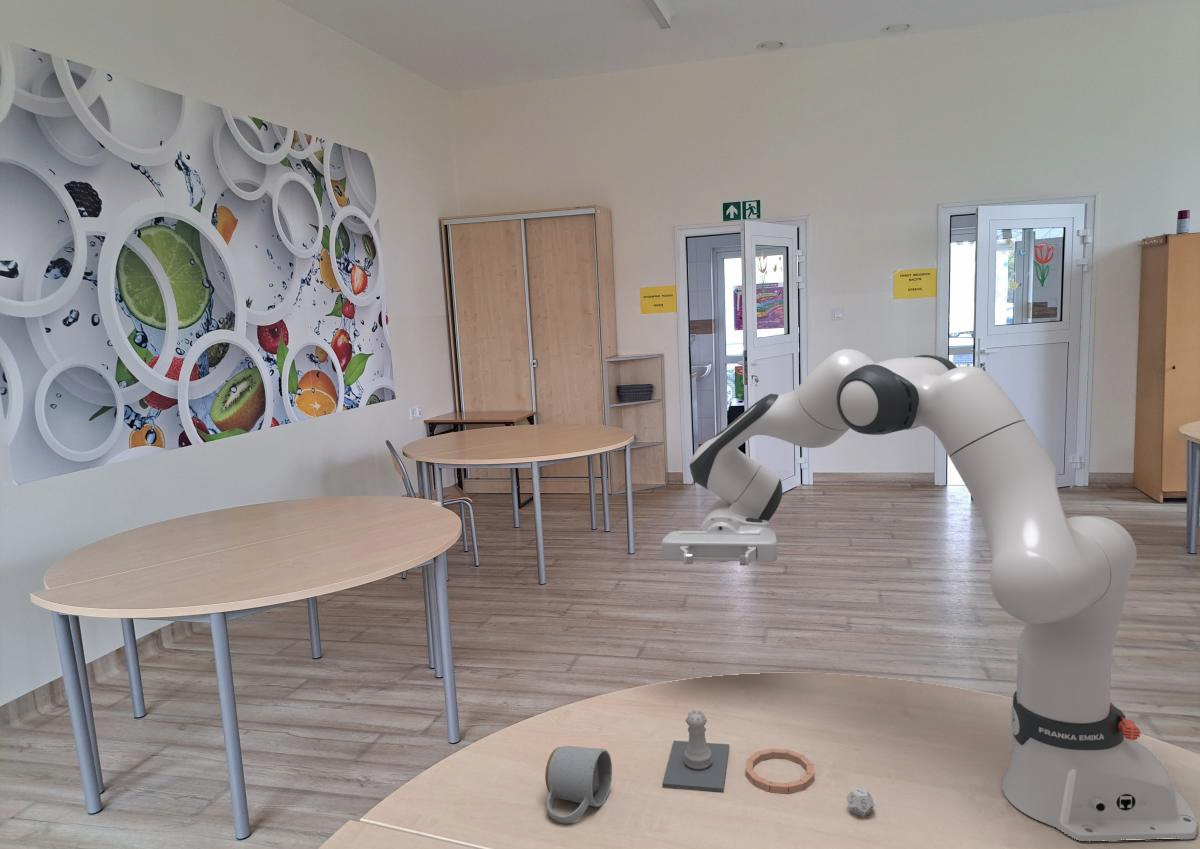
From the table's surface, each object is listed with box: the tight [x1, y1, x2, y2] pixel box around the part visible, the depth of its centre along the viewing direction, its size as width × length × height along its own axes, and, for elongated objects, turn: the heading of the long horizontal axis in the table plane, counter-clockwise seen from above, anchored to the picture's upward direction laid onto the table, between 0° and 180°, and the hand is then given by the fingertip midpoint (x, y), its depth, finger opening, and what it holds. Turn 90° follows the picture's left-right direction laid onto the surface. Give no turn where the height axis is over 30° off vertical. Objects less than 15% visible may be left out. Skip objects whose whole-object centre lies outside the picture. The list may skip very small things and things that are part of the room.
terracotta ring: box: [745, 748, 815, 794], centre depth 121 cm, size 10×10×1 cm
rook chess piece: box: [684, 710, 713, 770], centre depth 123 cm, size 4×4×8 cm
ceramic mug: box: [544, 745, 613, 824], centre depth 116 cm, size 11×8×8 cm
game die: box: [845, 786, 875, 818], centre depth 111 cm, size 4×4×3 cm
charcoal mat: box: [661, 740, 730, 793], centre depth 124 cm, size 9×12×1 cm
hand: (715, 560), depth 135 cm, fingers open, 8 cm apart
